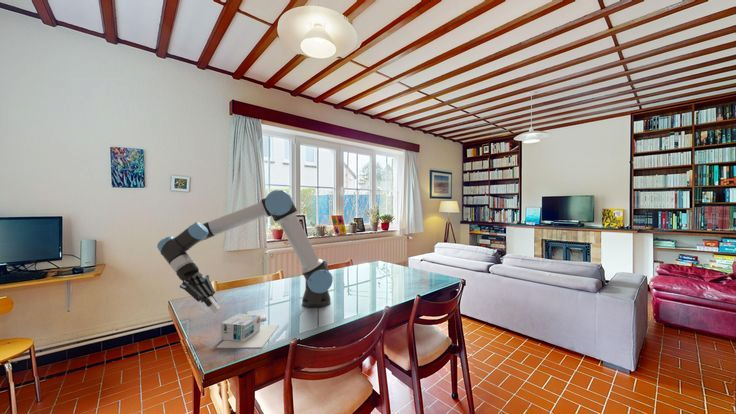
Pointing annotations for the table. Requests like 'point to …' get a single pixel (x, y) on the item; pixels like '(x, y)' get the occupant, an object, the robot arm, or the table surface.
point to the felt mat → (252, 339)
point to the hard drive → (259, 313)
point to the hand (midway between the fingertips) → (217, 310)
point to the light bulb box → (240, 327)
